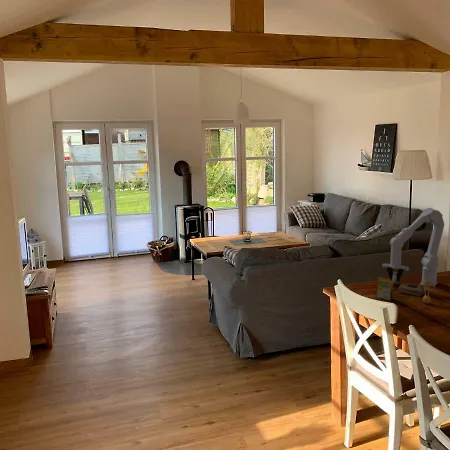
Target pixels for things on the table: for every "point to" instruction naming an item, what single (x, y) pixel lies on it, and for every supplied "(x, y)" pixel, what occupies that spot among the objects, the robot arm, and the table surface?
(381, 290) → the crayon box
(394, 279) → the metal peg
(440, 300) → the table surface
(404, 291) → the hole block
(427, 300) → the figurine
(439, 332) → the table surface
